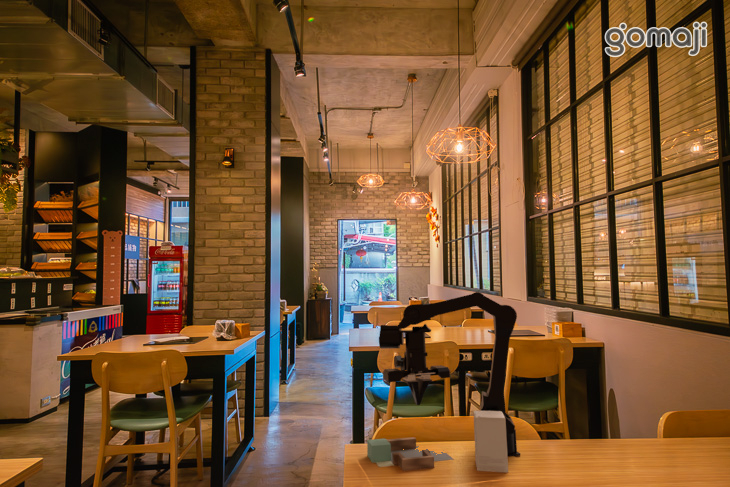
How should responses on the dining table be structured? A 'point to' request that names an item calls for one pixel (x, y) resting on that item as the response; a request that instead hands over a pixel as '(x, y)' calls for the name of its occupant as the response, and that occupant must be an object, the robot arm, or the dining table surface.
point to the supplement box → (490, 441)
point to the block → (379, 450)
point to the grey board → (414, 453)
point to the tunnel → (413, 462)
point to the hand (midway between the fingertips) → (417, 404)
